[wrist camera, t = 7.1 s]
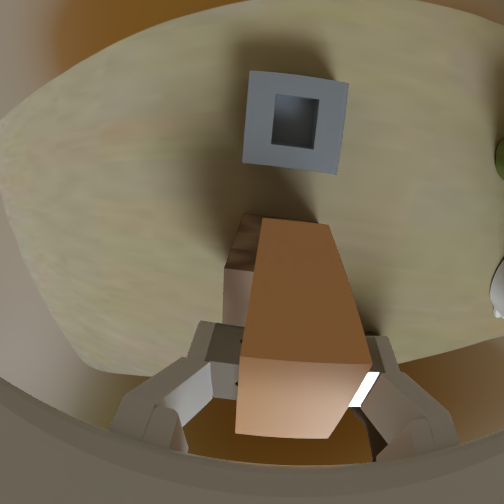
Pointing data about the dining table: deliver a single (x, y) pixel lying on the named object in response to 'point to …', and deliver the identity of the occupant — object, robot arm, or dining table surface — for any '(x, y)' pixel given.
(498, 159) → the plant pot
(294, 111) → the low socket
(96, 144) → the dining table surface
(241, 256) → the wood block with hole
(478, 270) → the dining table surface
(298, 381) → the peg
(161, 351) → the dining table surface
